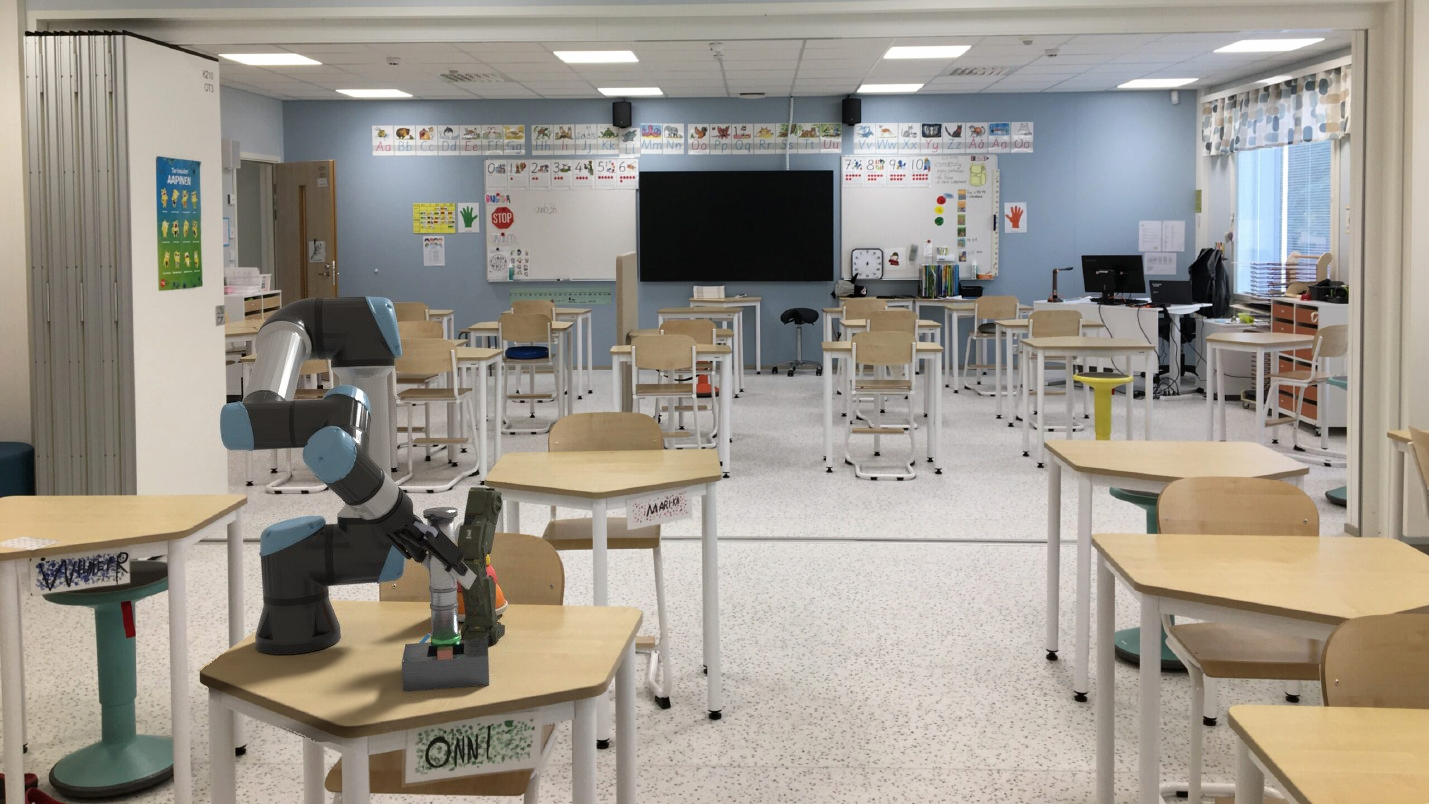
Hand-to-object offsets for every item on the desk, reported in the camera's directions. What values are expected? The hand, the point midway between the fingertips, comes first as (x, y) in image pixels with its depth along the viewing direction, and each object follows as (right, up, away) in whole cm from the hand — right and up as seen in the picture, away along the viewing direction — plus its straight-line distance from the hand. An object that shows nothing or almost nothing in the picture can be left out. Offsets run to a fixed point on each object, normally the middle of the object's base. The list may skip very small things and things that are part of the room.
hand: (459, 580), depth 198 cm
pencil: (-11, -15, +15) cm, 24 cm away
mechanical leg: (0, -14, +19) cm, 24 cm away
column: (-2, -11, -2) cm, 11 cm away
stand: (-2, -17, -1) cm, 17 cm away
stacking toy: (-5, -13, +35) cm, 38 cm away
